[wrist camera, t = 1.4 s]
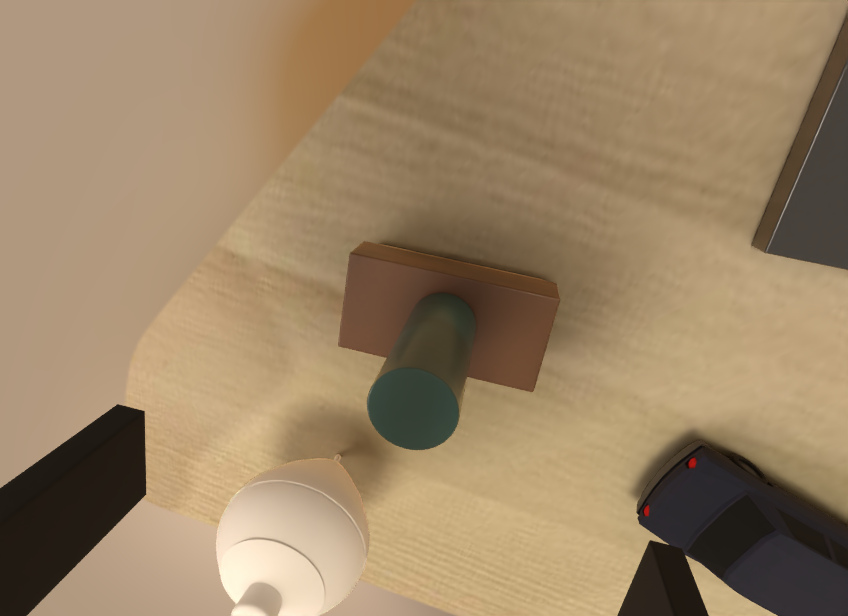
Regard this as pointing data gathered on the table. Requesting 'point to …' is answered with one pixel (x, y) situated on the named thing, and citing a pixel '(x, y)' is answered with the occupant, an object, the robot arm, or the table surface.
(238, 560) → the spinning top
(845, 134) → the slate board
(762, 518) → the toy car
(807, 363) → the table surface
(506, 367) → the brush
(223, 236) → the table surface
